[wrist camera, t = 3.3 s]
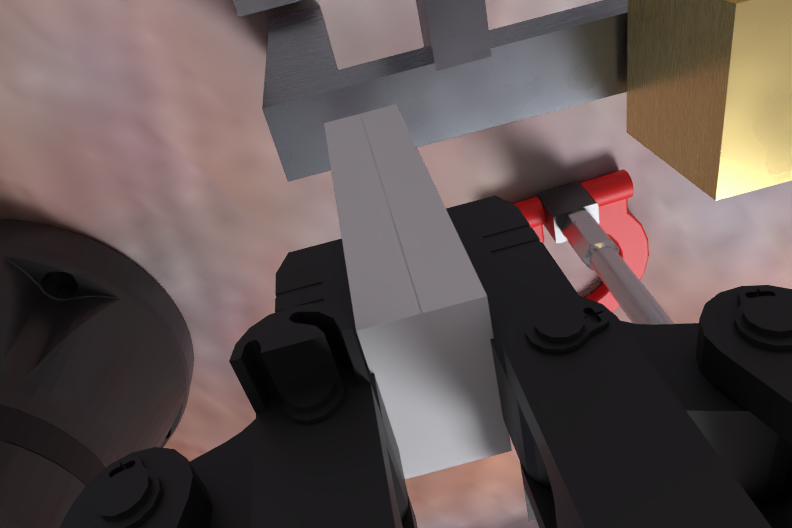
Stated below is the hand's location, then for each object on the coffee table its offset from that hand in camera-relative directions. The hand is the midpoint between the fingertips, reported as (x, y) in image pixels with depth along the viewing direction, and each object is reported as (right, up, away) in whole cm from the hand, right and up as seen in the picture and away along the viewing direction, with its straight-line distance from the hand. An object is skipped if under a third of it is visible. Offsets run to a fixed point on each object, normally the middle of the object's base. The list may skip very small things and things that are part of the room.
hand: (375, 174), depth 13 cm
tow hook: (+9, -1, +19) cm, 22 cm away
